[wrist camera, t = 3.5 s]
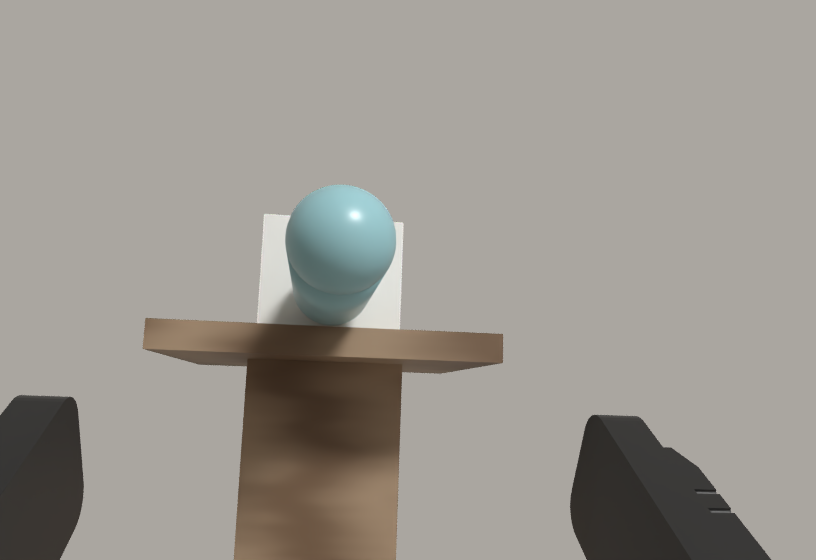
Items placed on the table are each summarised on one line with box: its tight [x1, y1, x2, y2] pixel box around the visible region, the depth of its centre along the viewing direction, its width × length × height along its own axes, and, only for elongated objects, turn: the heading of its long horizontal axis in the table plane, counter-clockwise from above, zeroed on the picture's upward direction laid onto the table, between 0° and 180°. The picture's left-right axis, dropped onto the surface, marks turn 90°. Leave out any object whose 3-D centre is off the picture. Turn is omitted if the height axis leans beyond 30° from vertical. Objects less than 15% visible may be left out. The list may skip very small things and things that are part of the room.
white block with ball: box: [257, 185, 403, 329], centre depth 27 cm, size 5×23×4 cm, turn 8°
